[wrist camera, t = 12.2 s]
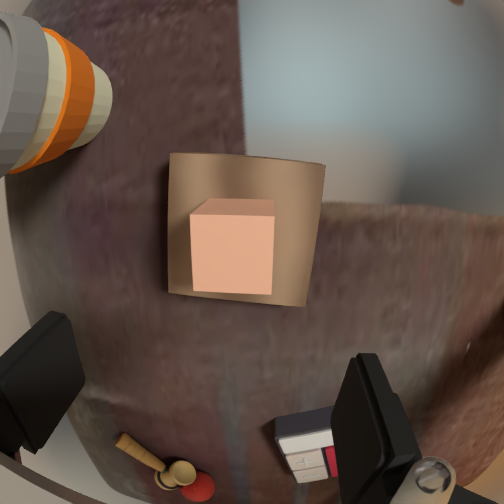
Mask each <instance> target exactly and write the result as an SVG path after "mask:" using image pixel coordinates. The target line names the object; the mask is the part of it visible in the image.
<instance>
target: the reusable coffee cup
mask: <svg viewBox="0 0 504 504" xmlns="http://www.w3.org/2000/svg"><path fill="white" fill-rule="evenodd" d="M111 106H112V87H111V83H110V81H109V79H108V76H107V75H106V74H105V73H104V71H103V70H101V69H100V68H99V67H97V66H96V65H94V64H93V63H91V62H90V60H89V58H88V57H87V55H86V54H85V53H84V52H83V51H82V50H81V49H79V48H78V47H76V46H75V45H73V44H72V43H71V42H69V41H68V40H66V39H65V38H63V37H62V36H60V35H59V34H57V33H56V32H54V31H53V30H51V29H47V28H43V27H42V28H41V26H40V25H39V24H38V22H37V21H35V20H33V19H32V18H30V17H26V16H21V15H16V14H10V13H4V12H0V178H1V177H3V176H4V175H6V174H15V173H18V172H21V171H24V170H27V169H29V168H32V167H34V166H37V165H40V164H42V163H45V162H48V161H50V160H53V159H55V158H57V157H59V156H60V155H62V154H63V153H64V152H66V151H67V150H70V149H73V148H76V147H79V146H82V145H84V144H86V143H88V142H90V141H91V140H92V139H93V138H95V137H96V135H97V134H98V133H99V132H100V131H101V129H102V128H103V126H104V125H105V123H106V121H107V119H108V117H109V113H110V110H111Z"/></svg>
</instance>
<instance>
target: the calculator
mask: <svg viewBox="0 0 504 504" xmlns="http://www.w3.org/2000/svg"><path fill="white" fill-rule="evenodd" d="M333 408H334V406H330V407H326V408H321V409H316V410H312V411H307V412H302V413H297V414H291V415H286V416H280V417H275V418H274V439H275V441H276V443H277V445H278V447H279V449H280V451H281V454H282V456H283V458H284V460H285V462H286V464H287V466H288V468H289V470H290V472H291V474H292V476H293V478H294V480H295V481H296V482H298V483H305V482H311V481H317V480H322V479H327V478H328V476H332V477H337V476H338V471H337V464H336V457H335V450H334V444H333V437H332V431H331V424H330V418H331V414H332V411H333Z"/></svg>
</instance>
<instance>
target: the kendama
mask: <svg viewBox="0 0 504 504" xmlns="http://www.w3.org/2000/svg"><path fill="white" fill-rule="evenodd" d="M115 446H117V447H118V448H120V449H121V450H124V451H125V452H126V453H128V454H129V455H131V456H133V457H134V458H136V459H138V460H139V461H141V462H143V463H144V464H146V465H148V466H150V467H152V468H154V469H156V471H155V474H154V478H155V481H156V483H157V485H158V486H159V487H161V488H162V489H165V490H174V489H177V488H178V487H179V489H180V491H181V493H182V494H183V496H184V497H186V498H187V499H189V500H191V501H195V502H202V501H206V500H208V499H209V498H210V497H211V496H212V495H213V493H214V491H215V483H214V480H213V479H212V478H211V476H209V475H208V474H207V473H205V472H202V471H197V470H195V468H194V467H193V466H192V465H191V464H190V463H189V462H187V461H183V460H180V461H176V462H174V463H173V464H172V465H171V466H170V465H165V464H164V463H163V462H161V461H160V460H159V459H158V458H157V457H155V456H154V455H153V454H151V453H150V452H149V451H147V450H146V449H145V448H143V447H142V446H141V445H140V444H138V443H137V442H136V441H135V440H133V439H132V438H131V437H130V436H129V435H128V434H126V433H125V432H124V433H123V434H122V435H121V436H120V438H119V439H118V440H117V442H116V443H115Z"/></svg>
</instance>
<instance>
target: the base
mask: <svg viewBox="0 0 504 504" xmlns="http://www.w3.org/2000/svg"><path fill="white" fill-rule="evenodd" d="M325 168H326V165H322V164H319V163H314V162H305V161H298V160H289V159H279V158H270V157H259V156H245V155H232V154H216V153H196V152H175V153H170V166H169V191H168V292H169V293H175V294H182V295H190V296H199V297H207V298H216V299H225V300H234V301H244V302H254V303H265V304H276V305H287V306H299V307H305V304H306V299H307V293H308V287H309V281H310V275H311V269H312V263H313V257H314V250H315V244H316V237H317V230H318V223H319V216H320V208H321V201H322V193H323V185H324V177H325ZM209 198H221V199H266V200H274V213H275V219H274V247H273V271H272V293H271V295H267V294H243V293H222V292H204V291H194V290H193V274H192V256H191V234H190V214H191V213H192V212H193V211H195V210H196V209H197V208H198V207H199V206H201V205H202V204H203V203H204V202H206V201H207V200H208V199H209Z"/></svg>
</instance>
